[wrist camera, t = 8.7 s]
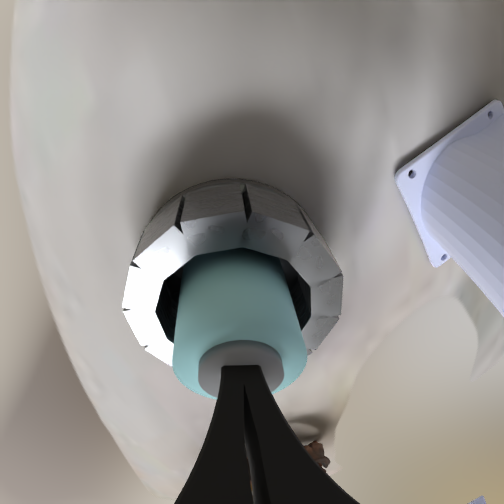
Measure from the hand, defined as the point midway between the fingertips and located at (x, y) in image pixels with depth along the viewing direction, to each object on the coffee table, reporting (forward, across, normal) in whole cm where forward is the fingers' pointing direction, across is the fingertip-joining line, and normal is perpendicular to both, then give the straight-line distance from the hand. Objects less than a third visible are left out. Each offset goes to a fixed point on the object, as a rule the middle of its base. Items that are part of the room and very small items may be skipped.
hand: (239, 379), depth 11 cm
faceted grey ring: (+8, 0, 0) cm, 8 cm away
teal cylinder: (+6, 0, 0) cm, 7 cm away
